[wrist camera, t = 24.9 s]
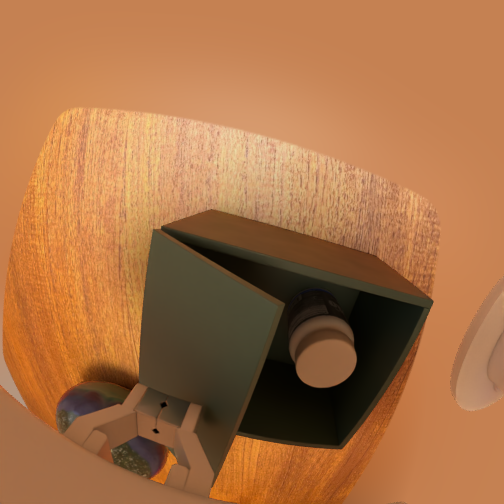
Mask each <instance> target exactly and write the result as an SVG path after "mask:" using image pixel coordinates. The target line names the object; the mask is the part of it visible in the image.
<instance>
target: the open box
mask: <svg viewBox="0 0 504 504" xmlns="http://www.w3.org/2000/svg"><path fill="white" fill-rule="evenodd" d="M161 230H162V231H163V232H165V233H166V234H168V235H170V236H171V237H173V238H175V239H176V240H178V241H179V242H181V243H183V244H184V245H186V246H188V247H189V248H191V249H193V250H194V251H196V252H198V253H199V254H201V255H202V256H204V257H206V258H207V259H209V260H211V261H213V262H214V263H216V264H218V265H219V266H221V267H223V268H224V269H226V270H228V271H229V272H231V273H233V274H234V275H236V276H238V277H240V278H241V279H243V280H245V281H246V282H248V283H250V284H252V285H253V286H255V287H257V288H259V289H260V290H262V291H264V292H265V293H267V294H269V295H271V296H272V297H274V298H276V299H278V300H280V301H281V302H283V303H285V306H284V309H283V312H282V315H281V317H280V320H279V323H278V326H277V329H276V332H275V335H274V337H273V340H272V343H271V346H270V349H269V351H268V354H267V357H266V359H265V362H264V365H263V368H262V370H261V373H260V375H259V378H258V381H257V383H256V386H255V389H254V391H253V394H252V396H251V399H250V401H249V404H248V406H247V409H246V411H245V414H244V416H243V419H242V421H241V423H240V426H239V428H238V431H237V433H236V435H238V436H243V437H248V438H252V439H257V440H263V441H268V442H274V443H281V444H287V445H295V446H303V447H313V448H325V449H343V447H344V446H345V445H346V444H347V443H348V442H349V440H350V439H351V438H352V437H353V435H354V434H355V433H356V432H357V430H358V429H359V428H360V427H361V425H362V424H363V423H364V421H365V420H366V419H367V417H368V416H369V415H370V413H371V412H372V410H373V409H374V408H375V406H376V405H377V403H378V402H379V400H380V399H381V398H382V396H383V395H384V393H385V392H386V390H387V388H388V387H389V385H390V384H391V382H392V381H393V379H394V377H395V376H396V374H397V372H398V371H399V369H400V367H401V366H402V364H403V362H404V361H405V359H406V357H407V355H408V353H409V352H410V350H411V348H412V346H413V344H414V342H415V340H416V338H417V336H418V334H419V332H420V330H421V328H422V326H423V324H424V322H425V320H426V318H427V316H428V314H429V311H430V309H431V306H432V304H433V300H432V299H431V298H429V297H428V296H427V295H426V294H424V293H423V292H422V291H421V290H419V289H418V288H417V287H416V286H414V285H413V284H412V283H410V282H409V281H408V280H407V279H405V278H404V277H403V276H401V275H400V274H399V273H398V272H396V271H395V270H394V269H392V268H391V267H390V266H388V265H387V264H386V263H384V262H383V261H382V260H380V259H379V258H377V257H376V256H374V255H371V254H368V253H364V252H361V251H358V250H355V249H351V248H348V247H345V246H342V245H338V244H335V243H332V242H328V241H325V240H321V239H318V238H315V237H311V236H308V235H304V234H301V233H297V232H294V231H290V230H287V229H283V228H279V227H276V226H272V225H269V224H265V223H261V222H258V221H254V220H250V219H247V218H243V217H239V216H235V215H231V214H228V213H224V212H220V211H216V210H212V209H211V210H208V211H205V212H202V213H199V214H196V215H193V216H190V217H187V218H184V219H181V220H178V221H175V222H172V223H169V224H166V225H163V226H161ZM315 287H316V288H322V289H325V290H327V291H329V292H331V293H332V294H333V295H334V296H335V298H336V299H337V301H338V303H339V305H340V307H341V309H342V311H343V313H344V315H345V317H346V319H347V321H348V323H349V325H350V327H351V329H352V332H353V335H354V349H355V352H356V356H357V362H356V366H355V369H354V371H353V372H352V374H351V375H350V376H349V377H348V378H347V379H346V380H344V381H343V382H341V383H340V384H337V385H335V386H331V387H326V388H317V387H312V386H310V385H307V384H306V383H304V382H303V381H302V380H301V379H300V378H299V377H298V375H297V372H296V368H295V362H294V361H293V360H292V358H291V355H290V352H289V337H288V318H287V312H288V306H289V304H290V302H291V300H292V299H293V297H294V296H295V295H296V294H298V293H299V292H301V291H303V290H305V289H308V288H315Z"/></svg>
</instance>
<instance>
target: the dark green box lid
mask: <svg viewBox="0 0 504 504" xmlns="http://www.w3.org/2000/svg"><path fill="white" fill-rule="evenodd" d="M284 306H285V303H283V302H281V301H280V300H278V299H276V298H274V297H272V296H271V295H269V294H267V293H265V292H264V291H262V290H260V289H259V288H257V287H255V286H253V285H252V284H250V283H248V282H246V281H245V280H243V279H241V278H240V277H238V276H236V275H234V274H233V273H231V272H229V271H228V270H226V269H224V268H223V267H221V266H219V265H218V264H216V263H214V262H213V261H211V260H209V259H207V258H206V257H204V256H202V255H201V254H199V253H198V252H196V251H194V250H193V249H191V248H189V247H188V246H186V245H184V244H183V243H181V242H179V241H178V240H176V239H175V238H173V237H171V236H170V235H168V234H166V233H165V232H163V231H162V230H160V229H153V233H152V239H151V245H150V251H149V258H148V265H147V273H146V281H145V290H144V299H143V310H142V322H141V337H140V357H139V383H140V384H142V385H145V386H147V387H150V388H152V389H154V390H157V391H159V392H162V393H164V394H167V395H170V396H173V397H176V398H179V399H182V400H185V401H189V402H191V403H194V404H198V405H201V406H202V411H201V415H200V419H199V423H198V426H197V430H196V434H197V436H198V439H199V441H200V443H201V446H202V448H203V450H204V453H205V455H206V457H207V459H208V462H209V464H210V466H211V468H212V470H213V472H214V478H213V482H212V486H211V488H212V487H213V485H214V483H215V481H216V478H217V476H218V474H219V472H220V470H221V468H222V465H223V463H224V461H225V459H226V456H227V454H228V452H229V449H230V447H231V445H232V442H233V440H234V438H235V435H236V433H237V431H238V428H239V426H240V423H241V421H242V419H243V416H244V414H245V411H246V409H247V406H248V404H249V401H250V399H251V396H252V394H253V391H254V389H255V386H256V383H257V381H258V378H259V375H260V373H261V370H262V368H263V365H264V362H265V359H266V357H267V354H268V351H269V349H270V346H271V343H272V340H273V337H274V335H275V332H276V329H277V326H278V323H279V320H280V317H281V315H282V312H283V309H284ZM166 447H167V448H168V449H169V450H170V451H171V453H172V454H173V455H174V456H175V453H174V449H173V448H170V447H168V446H166ZM175 457H176V456H175Z"/></svg>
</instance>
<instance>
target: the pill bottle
mask: <svg viewBox="0 0 504 504" xmlns="http://www.w3.org/2000/svg"><path fill="white" fill-rule="evenodd" d="M287 318H288V337H289V352H290V355H291V358H292V360H293V361H294V362H295V368H296V372H297V375H298V377H299V378H300V379H301V380H302V381H303V382H304V383H306V384H307V385H310V386H312V387H317V388H326V387H331V386H335V385H337V384H340V383H341V382H343V381H344V380H346V379H347V378H348V377H349V376H350V375H351V374H352V372H353V371H354V369H355V366H356V362H357V356H356V352H355V349H354V335H353V332H352V329H351V327H350V325H349V323H348V321H347V319H346V317H345V315H344V313H343V311H342V309H341V307H340V305H339V303H338V301H337V299H336V298H335V296H334V295H333V294H332V293H331V292H329V291H327V290H325V289H322V288H316V287H315V288H308V289H305V290H303V291H301V292H299V293H298V294H296V295H295V296H294V297H293V299H292V300H291V302H290V304H289V306H288V312H287Z"/></svg>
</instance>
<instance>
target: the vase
mask: <svg viewBox="0 0 504 504" xmlns="http://www.w3.org/2000/svg"><path fill="white" fill-rule="evenodd" d="M130 392H131V390H129V389H127V388H125V387H123V386H121V385H118V384H116V383H112V382H108V381H102V380H94V381H86V382H82V383H79V384H77V385H75V386H73V387H71V388H70V389H69V390H67V391H66V392H65V393H64V394H63V396H62V397H61V399H60V400H59V403H58V405H57V409H56V423H57V427H58V431H59V433H61V434H62V435H63V434H64V433H65V431H66V430H67V429H68V428H69V426H70V425H71V424H72V423H73V421H74V420H75V419H76V418H77V417H80V416H83V415H86V414H90V413H93V412H96V411H99V410H102V409H105V408H108V407H111V406H114V405H117V404H120V405H122V404H123V403H124V401H125V400H126V398H127V397H128V395H129V394H130ZM110 451H111V454H112V458H113V462H114V463H113V464H115V465H117V466H120V467H122V468H124V469H126V470H128V471H131V472H133V473H135V474H138V475H140V476H142V477H145V478H147V479H151V478H153V477H154V476H156V475H157V474H158V473H159V472H160V471H161V470H162V469H163V467H164V465H165V463H166V461H167V457H168V453H169V449H168V448H167V447H166V446H165V445H163V444H160V443H158V442H155V441H152V440H150V439H147V438H144V437H142V436H139V435H137V436H136V437H134V438H133V439H131V440H129V441H127V442H125V443H123V444H121V445H119V446H117V447H115V448H113V449H111V450H110Z"/></svg>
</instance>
